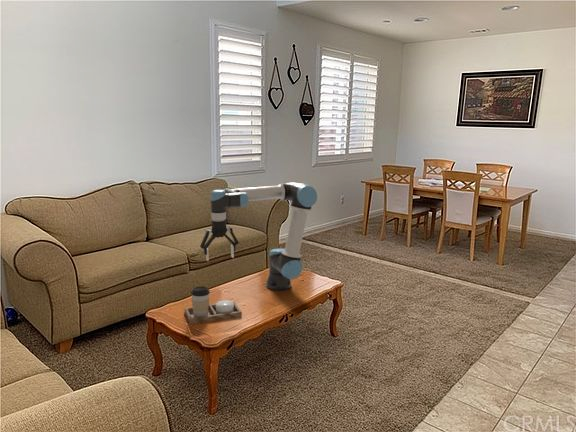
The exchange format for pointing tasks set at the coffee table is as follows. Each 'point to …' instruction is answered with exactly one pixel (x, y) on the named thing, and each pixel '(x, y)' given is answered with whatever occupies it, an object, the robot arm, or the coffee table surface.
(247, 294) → the coffee table surface
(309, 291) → the coffee table surface
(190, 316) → the box
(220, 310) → the white ceramic dome
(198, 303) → the coffee cup
